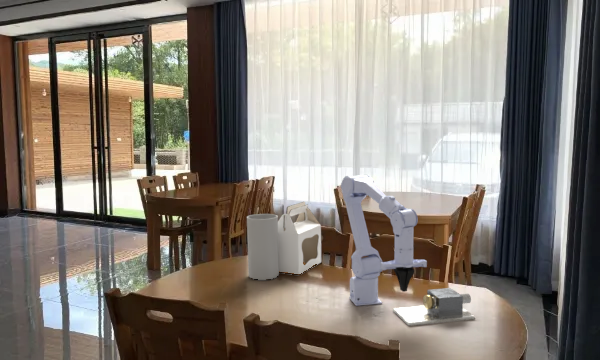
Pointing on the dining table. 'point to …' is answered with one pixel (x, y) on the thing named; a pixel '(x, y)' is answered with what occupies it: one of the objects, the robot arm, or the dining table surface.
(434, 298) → the shaft
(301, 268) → the gable box
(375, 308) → the dining table surface
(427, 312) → the bearing block
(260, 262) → the cylinder vase
